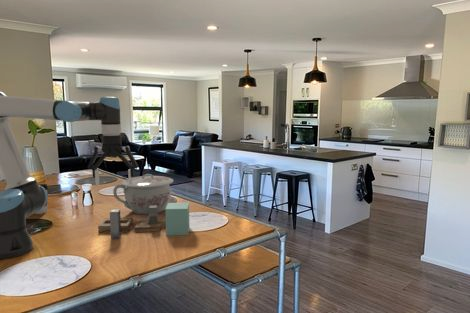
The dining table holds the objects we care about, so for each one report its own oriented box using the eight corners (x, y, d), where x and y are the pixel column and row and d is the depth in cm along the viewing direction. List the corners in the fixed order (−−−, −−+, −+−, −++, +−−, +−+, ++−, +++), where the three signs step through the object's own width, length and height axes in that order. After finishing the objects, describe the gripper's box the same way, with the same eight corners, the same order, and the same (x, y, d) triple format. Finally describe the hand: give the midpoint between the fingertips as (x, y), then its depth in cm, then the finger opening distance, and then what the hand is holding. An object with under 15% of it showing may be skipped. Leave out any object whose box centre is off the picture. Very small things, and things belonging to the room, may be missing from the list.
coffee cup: (41, 215, 175) (39, 187, 173) (27, 214, 177) (25, 186, 175) (53, 210, 183) (51, 183, 181) (40, 209, 185) (37, 182, 183)
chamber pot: (182, 206, 193) (181, 170, 190) (159, 221, 166) (158, 180, 164) (139, 202, 200) (138, 168, 197) (110, 216, 174) (108, 177, 171)
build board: (128, 231, 152) (127, 225, 152) (98, 232, 151) (98, 226, 151) (133, 223, 163) (133, 217, 162) (106, 224, 162) (105, 218, 161)
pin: (119, 238, 144) (117, 211, 142) (111, 239, 143) (109, 211, 142) (121, 235, 147) (120, 209, 145) (113, 236, 147) (112, 209, 145)
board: (159, 231, 153) (158, 209, 152) (134, 231, 152) (133, 210, 151) (162, 223, 164) (162, 203, 162) (139, 223, 163) (139, 203, 162)
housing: (188, 234, 149) (187, 208, 147) (166, 235, 148) (165, 209, 146) (189, 227, 158) (189, 202, 157) (168, 227, 158) (168, 202, 156)
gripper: (143, 133, 144) (145, 182, 147) (83, 134, 142) (87, 183, 145) (140, 135, 136) (142, 186, 139) (77, 135, 134) (80, 187, 137)
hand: (114, 184), depth 142 cm, fingers open, 13 cm apart
